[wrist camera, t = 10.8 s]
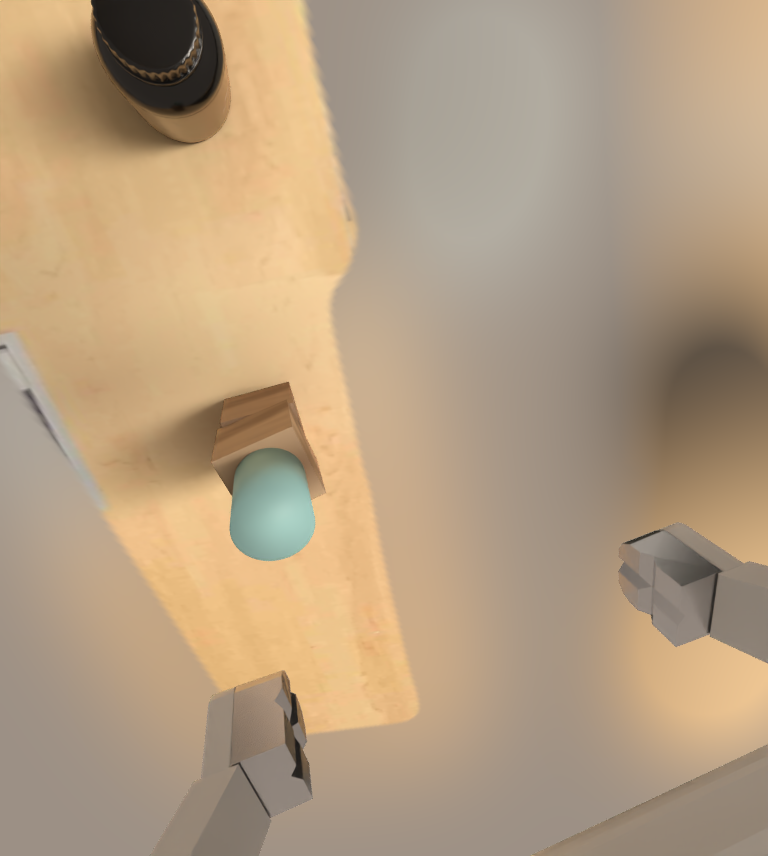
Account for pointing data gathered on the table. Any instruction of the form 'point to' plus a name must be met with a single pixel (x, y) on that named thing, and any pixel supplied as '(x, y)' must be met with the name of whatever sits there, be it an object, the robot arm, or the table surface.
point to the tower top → (265, 444)
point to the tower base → (257, 403)
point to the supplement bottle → (165, 63)
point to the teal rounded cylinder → (271, 505)
